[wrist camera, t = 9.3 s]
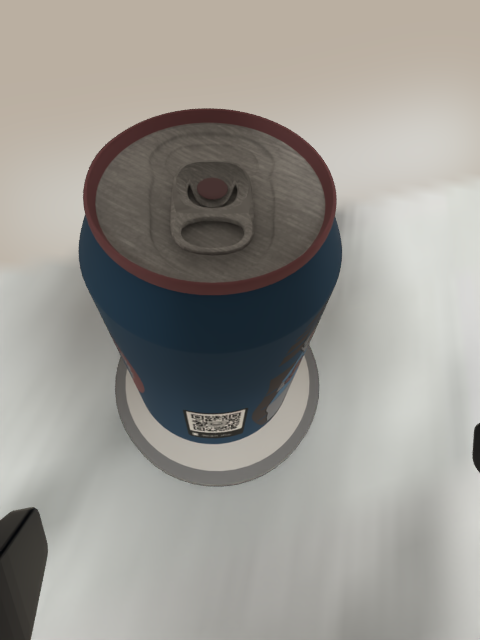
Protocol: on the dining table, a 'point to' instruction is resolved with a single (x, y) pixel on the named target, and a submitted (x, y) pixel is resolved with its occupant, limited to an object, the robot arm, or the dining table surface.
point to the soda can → (210, 263)
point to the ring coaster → (229, 458)
